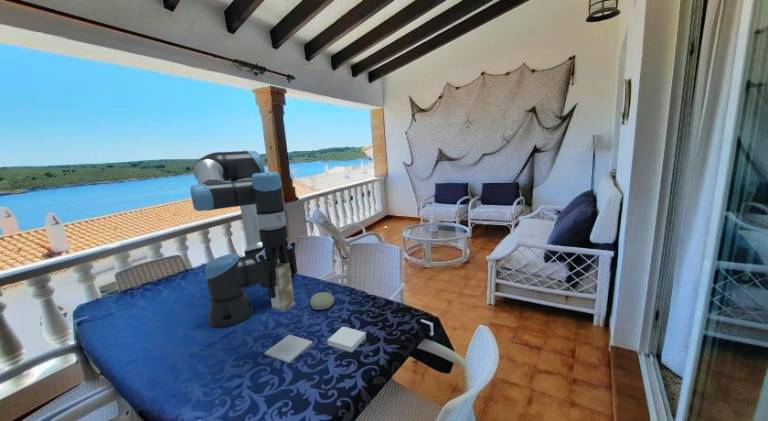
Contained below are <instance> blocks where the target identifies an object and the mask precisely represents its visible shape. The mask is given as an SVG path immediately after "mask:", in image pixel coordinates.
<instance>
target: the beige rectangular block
mask: <svg viewBox="0 0 768 421" xmlns="http://www.w3.org/2000/svg"><path fill="white" fill-rule="evenodd" d="M275 272H276V281H275V286H278V291H279V298H280V305H281V307H280V308H276V307H272V306H271V308H272V309H274V310H276V311H280V312H284V311H287V310H288V309H290V308H291V307H293V306H294V305H295V304H296V302H295V295H294V289H293V288H294V285H293V286H292V279H293V278H292V279H291V271H290V263H280V262H277V264H276V268H275Z"/></svg>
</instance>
